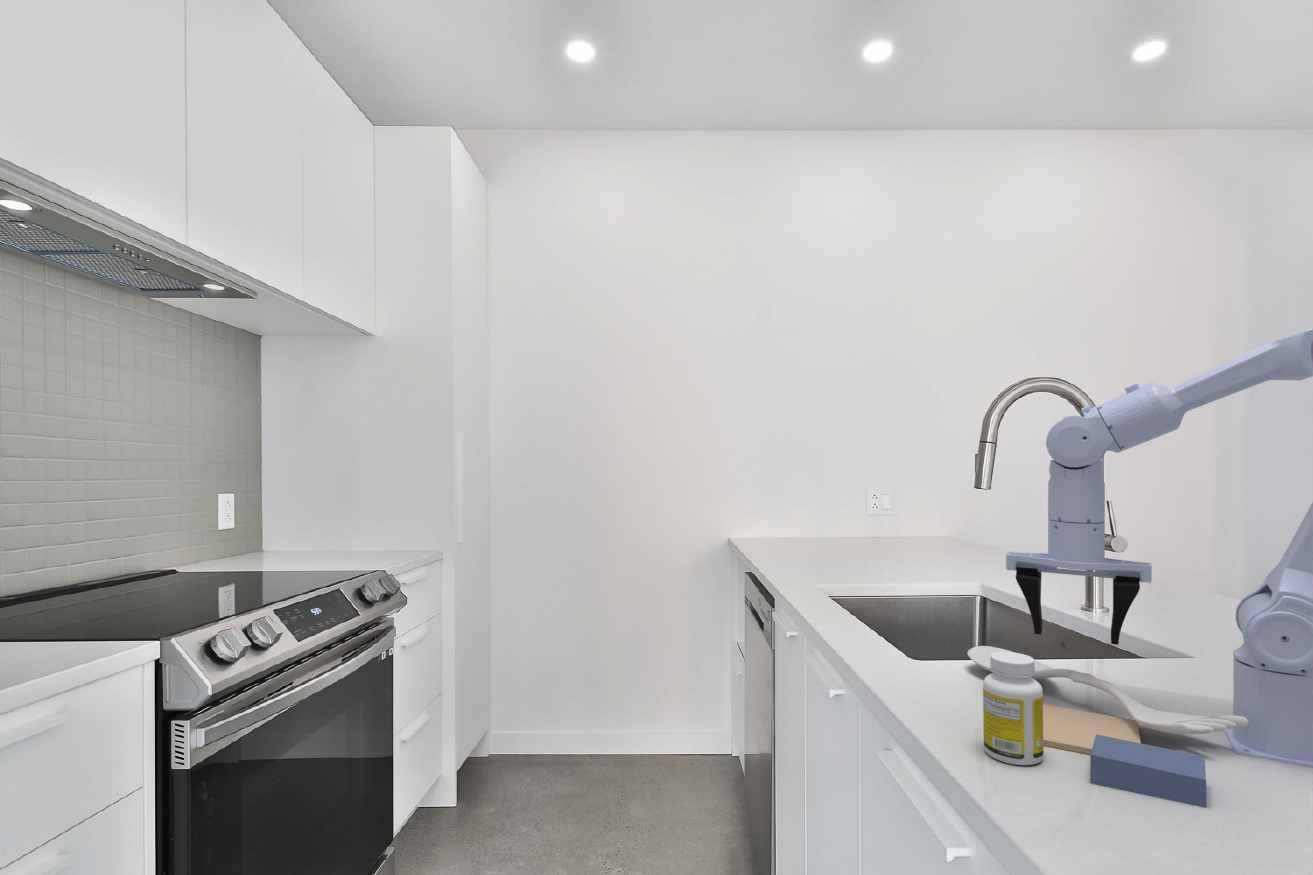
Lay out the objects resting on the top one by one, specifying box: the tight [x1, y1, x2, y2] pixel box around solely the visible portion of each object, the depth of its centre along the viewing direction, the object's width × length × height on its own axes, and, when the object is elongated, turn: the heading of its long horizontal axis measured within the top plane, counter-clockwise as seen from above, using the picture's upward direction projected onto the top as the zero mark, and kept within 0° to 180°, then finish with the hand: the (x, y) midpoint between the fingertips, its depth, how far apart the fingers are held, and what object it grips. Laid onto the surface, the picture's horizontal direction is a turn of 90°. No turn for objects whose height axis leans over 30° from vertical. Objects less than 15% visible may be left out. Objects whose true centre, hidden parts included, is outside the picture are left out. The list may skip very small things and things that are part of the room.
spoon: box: [966, 645, 1249, 736], centre depth 86 cm, size 9×32×4 cm, turn 18°
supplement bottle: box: [982, 651, 1044, 766], centre depth 73 cm, size 5×5×10 cm
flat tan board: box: [1043, 703, 1142, 755], centre depth 79 cm, size 14×11×1 cm
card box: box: [1089, 734, 1207, 808], centre depth 67 cm, size 8×6×3 cm, turn 54°
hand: (1075, 637), depth 85 cm, fingers open, 7 cm apart
